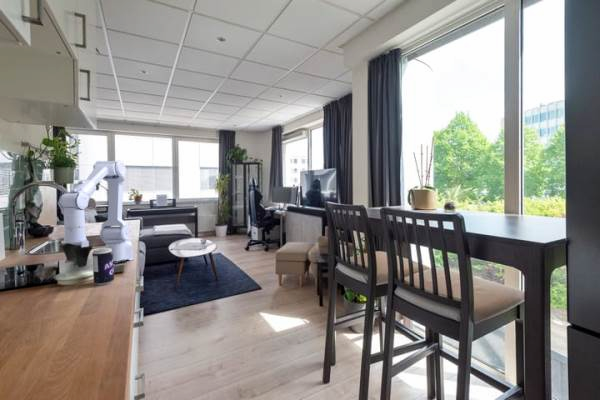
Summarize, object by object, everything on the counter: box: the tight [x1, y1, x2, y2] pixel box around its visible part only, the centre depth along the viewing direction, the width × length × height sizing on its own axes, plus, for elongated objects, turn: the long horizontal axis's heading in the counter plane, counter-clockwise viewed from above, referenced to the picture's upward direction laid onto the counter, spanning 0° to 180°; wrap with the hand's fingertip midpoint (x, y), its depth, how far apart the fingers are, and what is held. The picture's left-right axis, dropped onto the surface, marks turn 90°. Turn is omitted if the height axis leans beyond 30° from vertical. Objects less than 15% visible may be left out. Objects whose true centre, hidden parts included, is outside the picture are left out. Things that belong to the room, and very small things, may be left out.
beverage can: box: [91, 246, 115, 286], centre depth 95 cm, size 6×6×12 cm
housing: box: [58, 256, 93, 277], centre depth 98 cm, size 8×5×5 cm, turn 149°
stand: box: [54, 271, 94, 286], centre depth 99 cm, size 12×12×2 cm
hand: (77, 264), depth 99 cm, fingers open, 7 cm apart
